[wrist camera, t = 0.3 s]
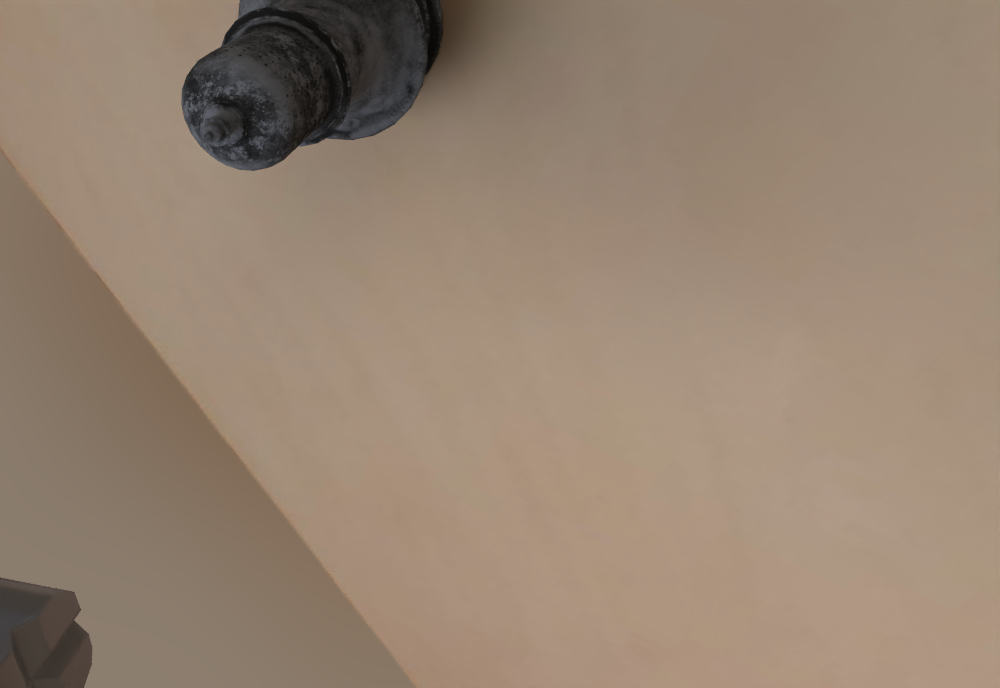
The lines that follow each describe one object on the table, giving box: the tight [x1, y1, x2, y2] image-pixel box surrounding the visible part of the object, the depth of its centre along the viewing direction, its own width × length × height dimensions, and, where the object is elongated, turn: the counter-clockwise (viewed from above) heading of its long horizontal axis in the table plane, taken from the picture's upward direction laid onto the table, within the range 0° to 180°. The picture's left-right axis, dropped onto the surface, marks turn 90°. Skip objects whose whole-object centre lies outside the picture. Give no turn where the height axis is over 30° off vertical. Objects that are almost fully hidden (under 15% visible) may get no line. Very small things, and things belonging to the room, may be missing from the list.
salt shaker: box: [181, 0, 443, 171], centre depth 24 cm, size 6×6×12 cm
